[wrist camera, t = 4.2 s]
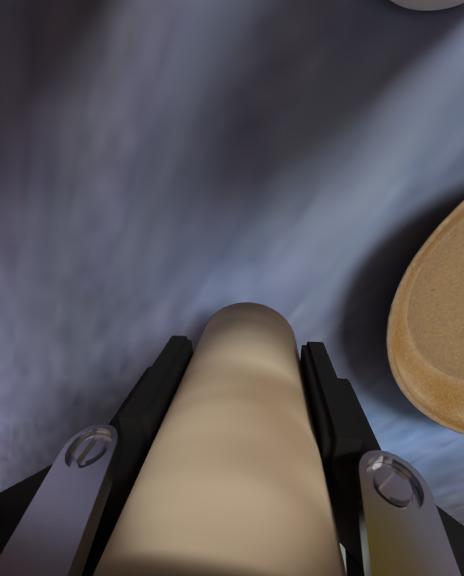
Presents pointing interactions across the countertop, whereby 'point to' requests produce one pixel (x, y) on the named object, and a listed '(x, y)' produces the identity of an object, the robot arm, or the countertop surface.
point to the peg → (232, 466)
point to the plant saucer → (432, 326)
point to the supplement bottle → (428, 4)
